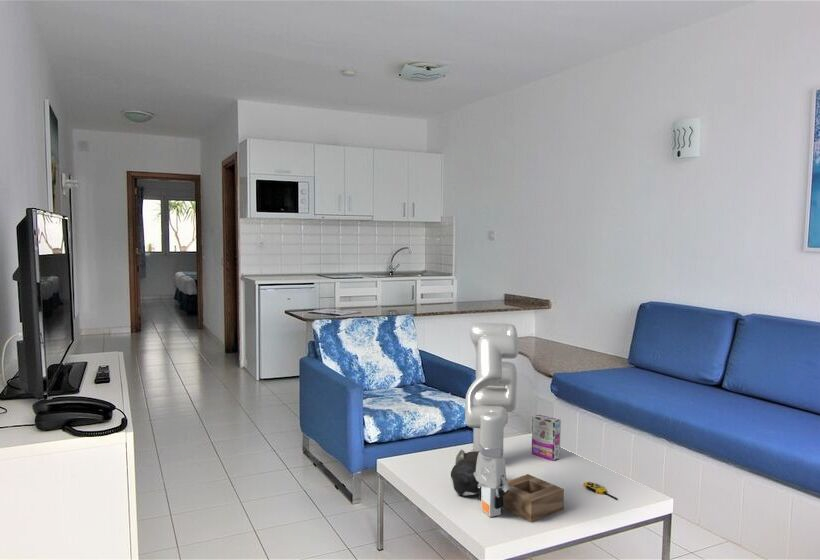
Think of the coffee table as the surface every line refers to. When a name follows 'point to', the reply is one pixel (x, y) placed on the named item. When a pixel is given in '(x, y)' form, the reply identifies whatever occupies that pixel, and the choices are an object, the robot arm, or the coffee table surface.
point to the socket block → (532, 498)
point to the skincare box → (489, 501)
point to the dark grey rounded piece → (465, 473)
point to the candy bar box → (546, 437)
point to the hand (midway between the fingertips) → (490, 503)
